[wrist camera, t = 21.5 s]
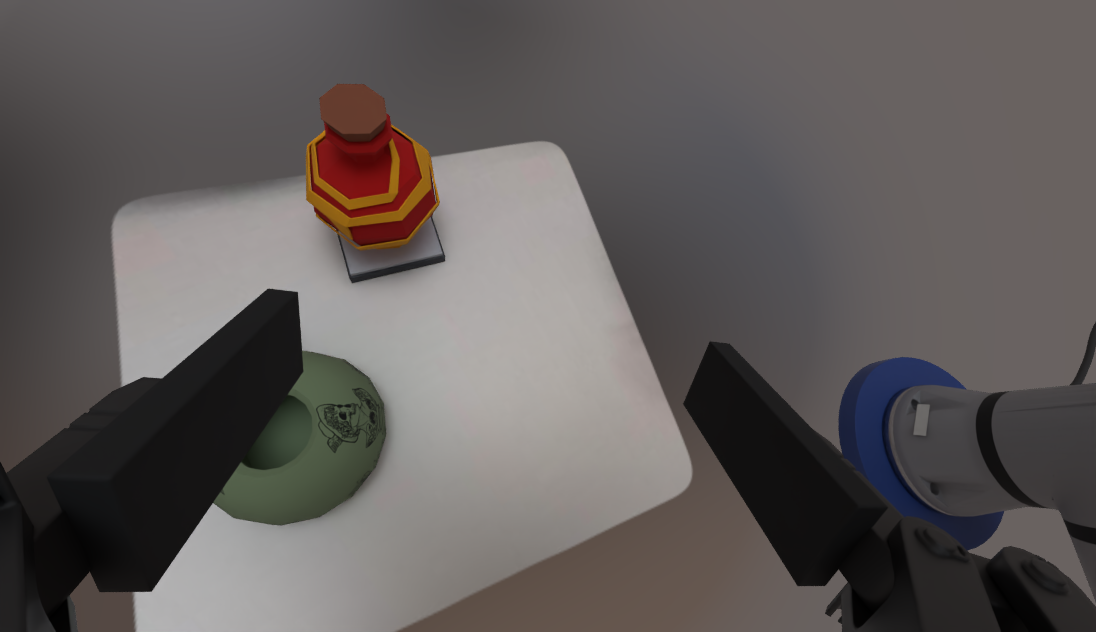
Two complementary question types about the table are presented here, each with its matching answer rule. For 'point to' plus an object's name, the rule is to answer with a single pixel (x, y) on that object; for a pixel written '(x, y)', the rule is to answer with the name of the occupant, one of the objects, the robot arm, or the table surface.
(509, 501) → the table surface
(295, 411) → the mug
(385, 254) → the scale
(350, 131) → the potion bottle
